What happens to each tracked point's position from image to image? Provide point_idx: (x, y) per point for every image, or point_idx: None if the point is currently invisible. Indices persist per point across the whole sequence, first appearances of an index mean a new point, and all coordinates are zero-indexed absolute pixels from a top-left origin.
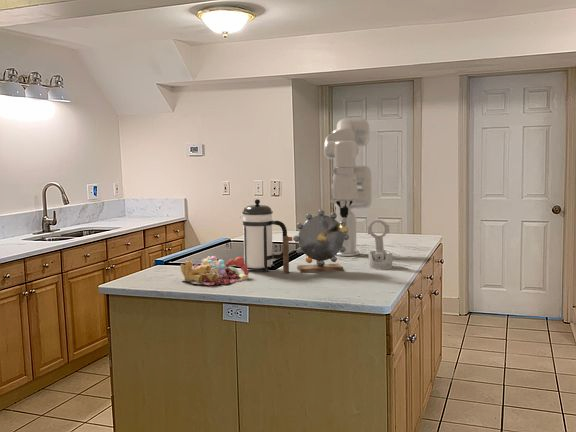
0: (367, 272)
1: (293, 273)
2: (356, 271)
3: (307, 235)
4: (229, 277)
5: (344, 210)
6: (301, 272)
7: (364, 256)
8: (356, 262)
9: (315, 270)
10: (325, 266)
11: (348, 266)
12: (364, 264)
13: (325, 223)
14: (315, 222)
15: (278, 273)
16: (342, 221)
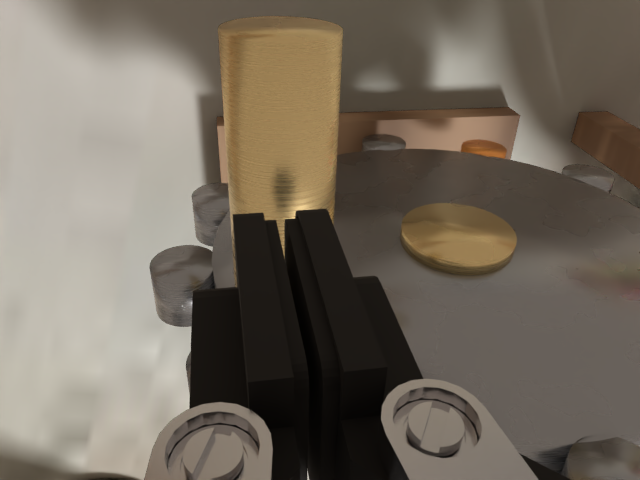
0: (29, 6)
1: (558, 97)
2: (119, 66)
3: (614, 249)
4: None
5: (325, 312)
6: (507, 107)
7: (2, 477)
8: (75, 341)
9: (418, 114)
10: None
11: (150, 239)
12: (25, 282)
13: (480, 353)
14: (620, 350)
15: (636, 116)
16: None
